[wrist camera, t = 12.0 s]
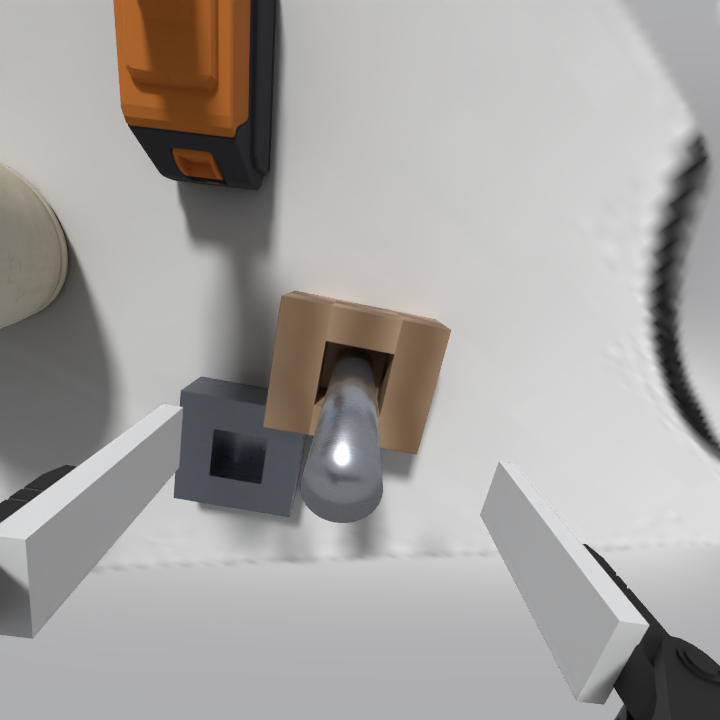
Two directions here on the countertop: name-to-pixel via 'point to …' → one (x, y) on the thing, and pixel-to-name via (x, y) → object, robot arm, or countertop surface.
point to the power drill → (199, 86)
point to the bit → (345, 445)
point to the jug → (28, 250)
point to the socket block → (235, 450)
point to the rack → (363, 330)
